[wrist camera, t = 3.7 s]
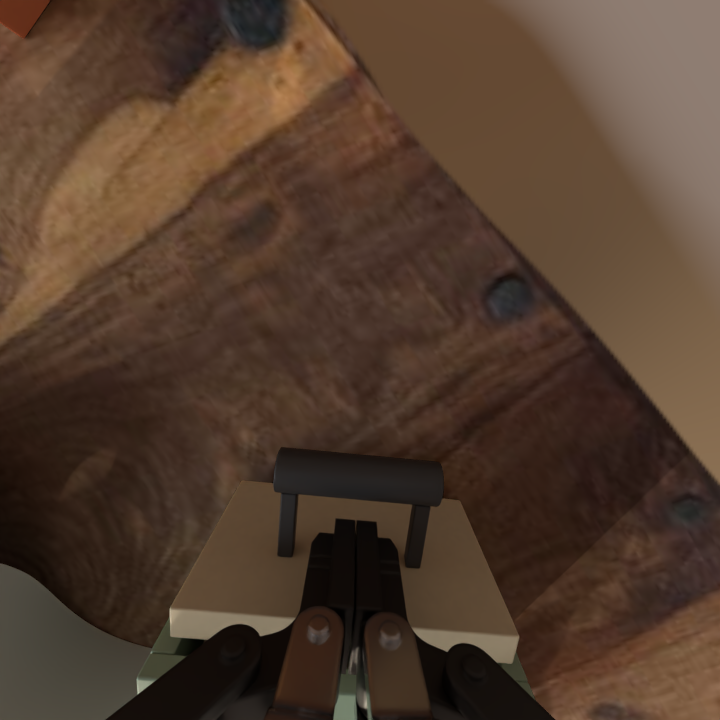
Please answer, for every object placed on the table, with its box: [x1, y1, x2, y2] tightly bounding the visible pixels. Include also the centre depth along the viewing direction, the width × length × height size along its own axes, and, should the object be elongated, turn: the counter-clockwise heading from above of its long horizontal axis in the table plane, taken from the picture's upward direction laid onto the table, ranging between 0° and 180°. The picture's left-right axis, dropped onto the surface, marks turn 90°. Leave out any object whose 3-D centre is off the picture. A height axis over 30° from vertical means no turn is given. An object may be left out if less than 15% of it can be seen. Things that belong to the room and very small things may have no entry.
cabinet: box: [137, 617, 536, 720], centre depth 17 cm, size 15×13×9 cm
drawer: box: [170, 447, 519, 668], centre depth 16 cm, size 18×11×7 cm, turn 174°
